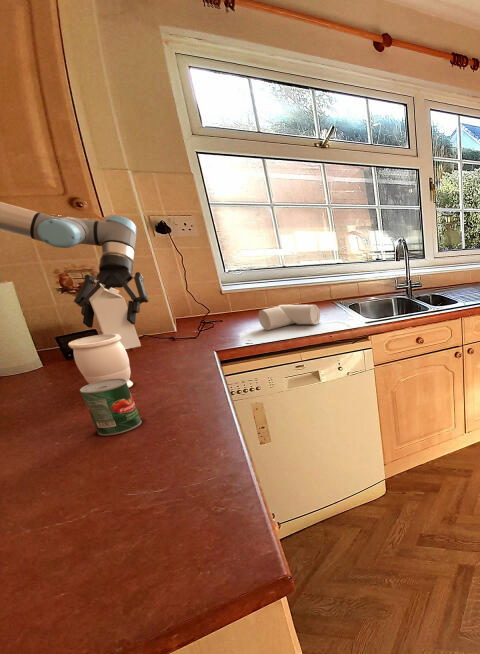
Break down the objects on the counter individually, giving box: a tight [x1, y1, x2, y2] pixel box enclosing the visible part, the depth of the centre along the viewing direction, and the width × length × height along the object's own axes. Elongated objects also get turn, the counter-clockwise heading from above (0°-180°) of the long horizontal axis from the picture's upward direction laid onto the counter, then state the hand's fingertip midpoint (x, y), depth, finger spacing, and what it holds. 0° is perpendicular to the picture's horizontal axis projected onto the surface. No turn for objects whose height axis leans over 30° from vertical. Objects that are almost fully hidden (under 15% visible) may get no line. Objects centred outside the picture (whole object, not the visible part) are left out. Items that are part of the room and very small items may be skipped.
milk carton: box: [89, 283, 142, 350], centre depth 125 cm, size 7×7×19 cm
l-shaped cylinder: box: [257, 304, 321, 331], centre depth 179 cm, size 18×11×20 cm
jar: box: [68, 334, 134, 389], centre depth 118 cm, size 11×10×15 cm
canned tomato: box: [79, 378, 142, 437], centre depth 98 cm, size 8×8×11 cm
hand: (109, 323), depth 123 cm, fingers closed on milk carton, 9 cm apart
